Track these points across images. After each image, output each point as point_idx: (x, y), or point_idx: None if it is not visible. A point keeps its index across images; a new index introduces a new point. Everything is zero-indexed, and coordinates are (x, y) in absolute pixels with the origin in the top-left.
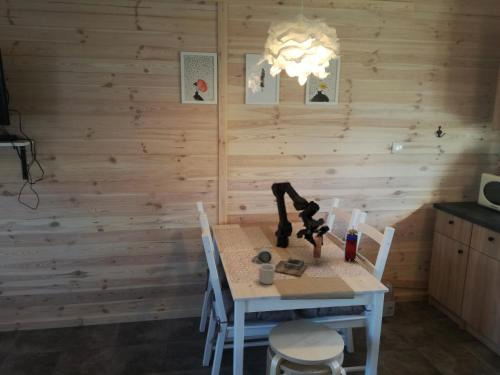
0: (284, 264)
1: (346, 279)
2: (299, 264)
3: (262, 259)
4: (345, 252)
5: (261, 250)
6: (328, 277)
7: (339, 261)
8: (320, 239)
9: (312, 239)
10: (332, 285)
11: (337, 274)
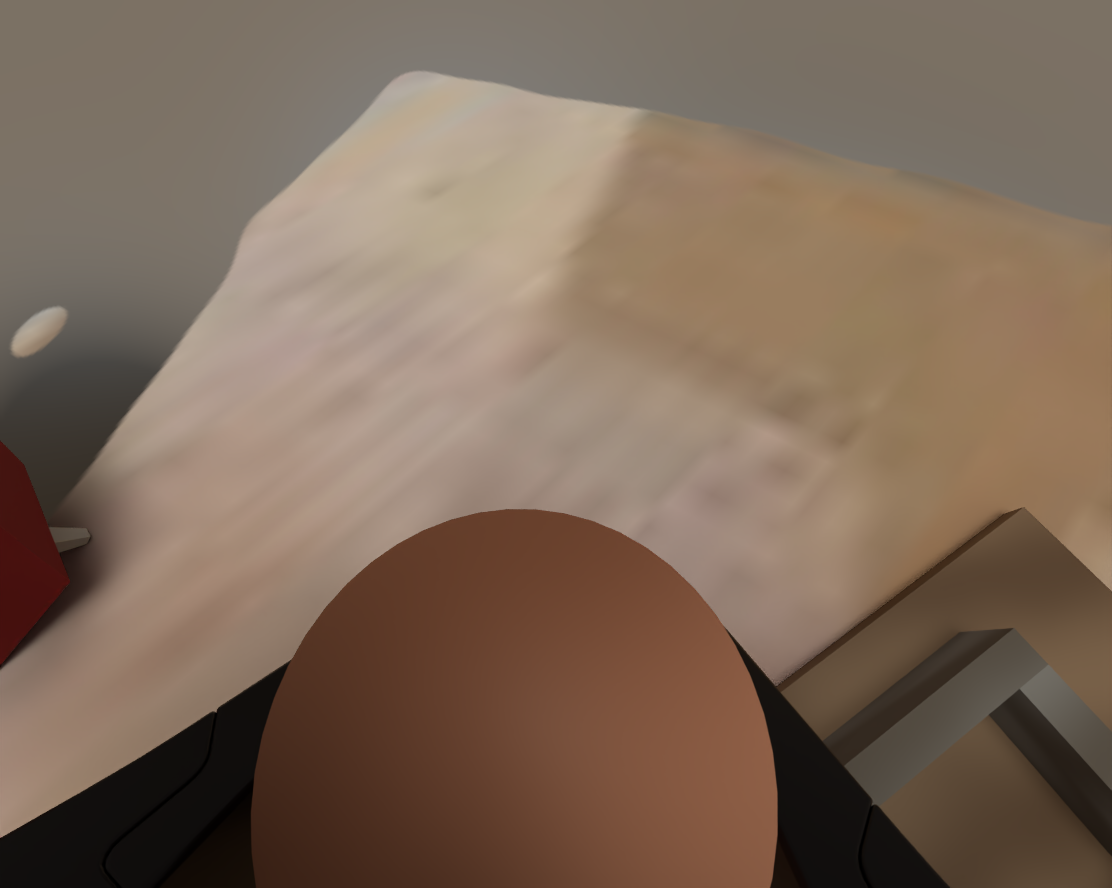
0: None
1: (533, 250)
2: (985, 695)
3: None
4: (3, 524)
5: None
6: (666, 355)
7: (162, 626)
8: (546, 520)
9: (919, 860)
10: (752, 224)
11: (520, 362)
